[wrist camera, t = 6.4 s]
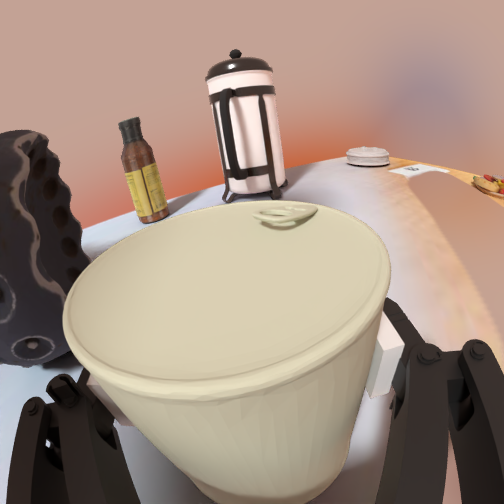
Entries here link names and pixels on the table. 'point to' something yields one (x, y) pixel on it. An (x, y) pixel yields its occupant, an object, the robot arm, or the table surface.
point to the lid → (368, 156)
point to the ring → (35, 250)
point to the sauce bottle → (142, 173)
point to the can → (238, 341)
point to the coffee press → (246, 126)
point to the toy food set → (490, 185)
